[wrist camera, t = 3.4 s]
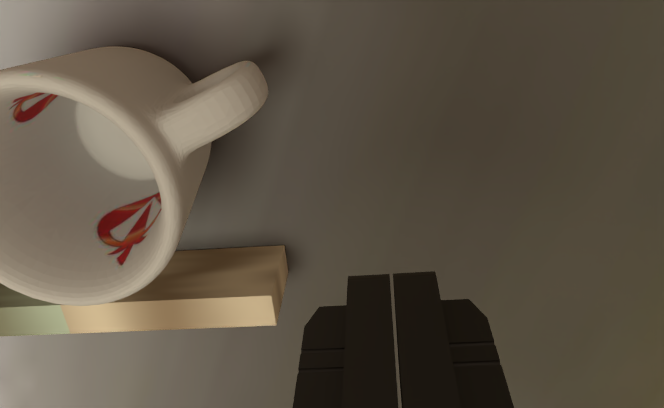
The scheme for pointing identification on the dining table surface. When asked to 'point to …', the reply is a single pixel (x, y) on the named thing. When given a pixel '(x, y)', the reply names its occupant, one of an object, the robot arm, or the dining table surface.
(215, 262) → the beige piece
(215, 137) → the cup
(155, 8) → the dining table surface
